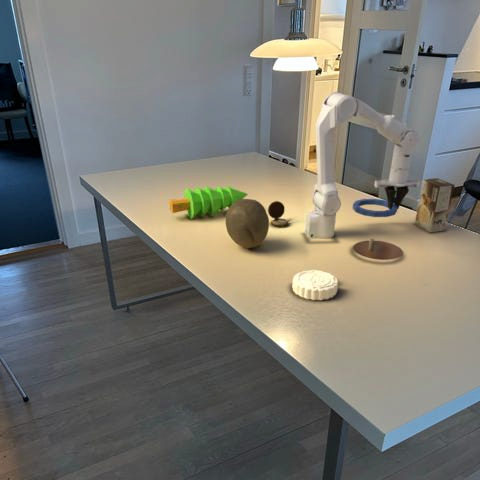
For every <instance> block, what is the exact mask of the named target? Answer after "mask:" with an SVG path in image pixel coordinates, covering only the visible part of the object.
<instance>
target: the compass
mask: <svg viewBox="0 0 480 480" xmlns="http://www.w3.org/2000/svg"><path fill="white" fill-rule="evenodd" d="M285 211H286V210H285V205H284V204H283V202H281V201H279V200H275V201H273V202H271V203H270V204H269V205H268V207H267V214H268V216H269V217H270V218H271V219H272V220H271V221H270V225H271V226H273V227H274V228H275V227H276V228H284V227H287V226H288V225H289V223H290V222H291V223H293V222H294V221H293V220H292V219H288V220H287V219H285V218H282V216H283V215H284V214H285Z"/></svg>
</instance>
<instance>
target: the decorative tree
mask: <svg viewBox="0 0 480 480" xmlns="http://www.w3.org/2000/svg"><path fill="white" fill-rule="evenodd" d="M183 194H184V198H174V199H173V198H172V199H169V203H168V204H169V209H170V212H171V214H175V213H179V212H184V211H186V214H187V216H188V217H189V218H190V219H191V220H193V219H194V218H196V217H197V216H199V217H200V218H203V217H204V216H205V215H206V214H208V215H209V216H211V218H212V217H213V216H215V215H216V214H217V213H218V212H219V211H220V212H222V211H224V210H225V209H226V208H228V209H229V208H230V207H231V205H232V204H233V203H235V202H236V201H238V200H241V199H245V198H246V197H247V196H248V195H249V193H246V192H244V191H241V190H239V189H236V188H234V187H231V186H228V185H226V186H225V188H223V187H221V186H217V187H216V189H215V188H212V187H209V186H206V185H205V186H204V189H202V188H200V187H198V186H196V187H195V189H194V190H192V189H190V188H188V187H186V188H185V190H184V193H183Z"/></svg>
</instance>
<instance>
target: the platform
mask: <svg viewBox="0 0 480 480" xmlns="http://www.w3.org/2000/svg"><path fill="white" fill-rule="evenodd" d="M352 249H353V251H354V253H356V254H357V255H359V256H362V257H364V258H367V259H371V260H379V261H391V260H396V259H398V258H400V257H402V256H403V253H404V251H403V250H402V248H401V247H400V246H398V245H396V244H394V243H392V242H387V241H383V240H376V239H375V238H369V240H362V241H359V242H356V243H354V244H353V246H352Z"/></svg>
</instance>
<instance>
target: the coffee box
mask: <svg viewBox="0 0 480 480" xmlns="http://www.w3.org/2000/svg"><path fill="white" fill-rule="evenodd" d="M421 184H422V185H421V190H420V194H419V199H418V200H419V201H418V205H417V210H416V216H415V221H414V223H416V224H419V225H420V226H422V227H423V229H425V231H426V232H429V233H436V232H442V231H443V232H444V231H445V229H446V224H447V221H448V216H449V212H450V208H451V203H452V198H453V194H454V190H455V184H454V183H451V182H449V181H446V180H443V179H441V178H438V177H436V178H427V179H423V180H422V183H421Z"/></svg>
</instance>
